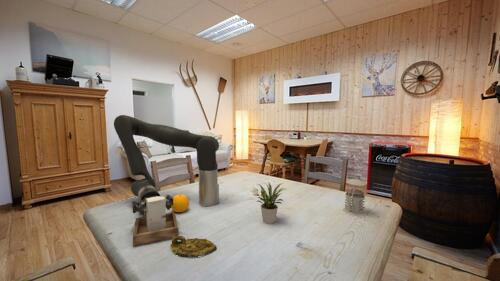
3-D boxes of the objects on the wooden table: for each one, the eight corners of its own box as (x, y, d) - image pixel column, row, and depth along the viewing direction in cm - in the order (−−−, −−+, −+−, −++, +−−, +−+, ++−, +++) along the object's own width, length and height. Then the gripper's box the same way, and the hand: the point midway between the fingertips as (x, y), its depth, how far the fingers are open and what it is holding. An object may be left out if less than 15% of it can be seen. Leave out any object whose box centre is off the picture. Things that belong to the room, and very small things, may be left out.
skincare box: (148, 235, 74) (147, 202, 73) (146, 229, 78) (145, 198, 77) (166, 230, 78) (165, 198, 76) (164, 225, 81) (163, 195, 80)
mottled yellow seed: (218, 244, 73) (174, 244, 72) (218, 230, 73) (174, 230, 72) (214, 258, 63) (164, 258, 63) (215, 243, 63) (164, 243, 63)
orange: (167, 212, 94) (166, 196, 93) (179, 206, 101) (178, 190, 101) (181, 215, 91) (181, 198, 90) (192, 208, 98) (192, 193, 98)
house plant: (291, 216, 92) (292, 179, 90) (286, 231, 79) (287, 189, 77) (260, 211, 96) (260, 176, 95) (250, 225, 83) (251, 185, 82)
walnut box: (174, 220, 87) (174, 211, 86) (178, 237, 74) (178, 227, 74) (136, 227, 81) (136, 218, 81) (133, 246, 68) (132, 236, 68)
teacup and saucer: (266, 195, 118) (266, 188, 118) (259, 199, 112) (259, 191, 111) (253, 192, 123) (253, 185, 123) (245, 196, 117) (245, 188, 116)
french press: (368, 211, 97) (372, 158, 94) (361, 220, 88) (365, 161, 86) (346, 205, 103) (349, 155, 101) (337, 213, 95) (340, 158, 92)
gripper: (129, 190, 84) (133, 204, 71) (166, 185, 92) (176, 196, 79) (130, 208, 85) (134, 225, 72) (166, 201, 93) (177, 215, 80)
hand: (156, 210), depth 75 cm, fingers open, 8 cm apart
